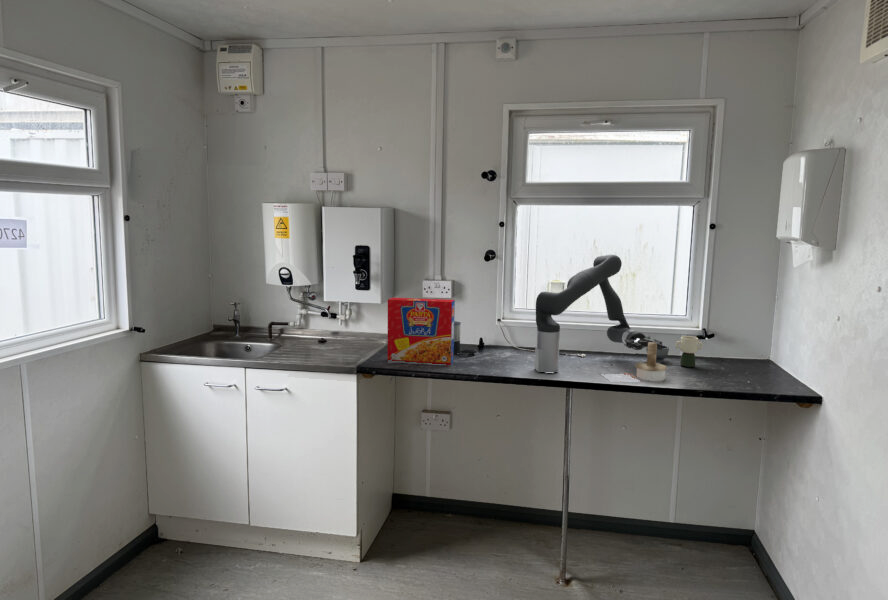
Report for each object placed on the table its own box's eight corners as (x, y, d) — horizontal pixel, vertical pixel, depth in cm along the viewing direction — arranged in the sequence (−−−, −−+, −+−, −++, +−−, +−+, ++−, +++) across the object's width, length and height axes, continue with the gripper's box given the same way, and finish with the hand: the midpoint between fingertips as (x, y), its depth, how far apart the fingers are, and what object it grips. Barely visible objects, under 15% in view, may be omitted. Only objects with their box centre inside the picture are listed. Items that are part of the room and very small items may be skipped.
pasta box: (387, 363, 246) (387, 299, 242) (392, 359, 254) (392, 297, 250) (450, 366, 241) (451, 302, 238) (453, 362, 249) (454, 299, 245)
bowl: (644, 381, 221) (644, 370, 220) (633, 375, 231) (633, 364, 230) (668, 381, 222) (669, 370, 221) (656, 375, 232) (657, 364, 231)
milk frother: (439, 351, 271) (440, 320, 270) (471, 350, 274) (472, 320, 272) (444, 357, 258) (445, 325, 256) (478, 356, 260) (479, 325, 258)
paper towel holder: (643, 371, 219) (644, 346, 218) (630, 364, 231) (631, 340, 230) (672, 371, 220) (674, 346, 219) (658, 363, 232) (660, 340, 231)
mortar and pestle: (664, 359, 260) (666, 334, 259) (671, 364, 251) (672, 337, 250) (640, 358, 262) (641, 333, 260) (645, 363, 252) (646, 337, 251)
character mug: (698, 365, 250) (700, 336, 248) (703, 369, 243) (705, 339, 241) (672, 364, 252) (674, 335, 250) (676, 367, 245) (678, 338, 243)
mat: (611, 383, 218) (611, 382, 218) (597, 374, 232) (598, 373, 232) (643, 383, 219) (643, 382, 219) (628, 373, 233) (628, 372, 233)
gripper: (618, 330, 241) (634, 338, 225) (650, 330, 242) (668, 338, 226) (617, 348, 242) (633, 356, 226) (649, 347, 243) (667, 356, 227)
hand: (650, 347), depth 226 cm, fingers open, 8 cm apart
